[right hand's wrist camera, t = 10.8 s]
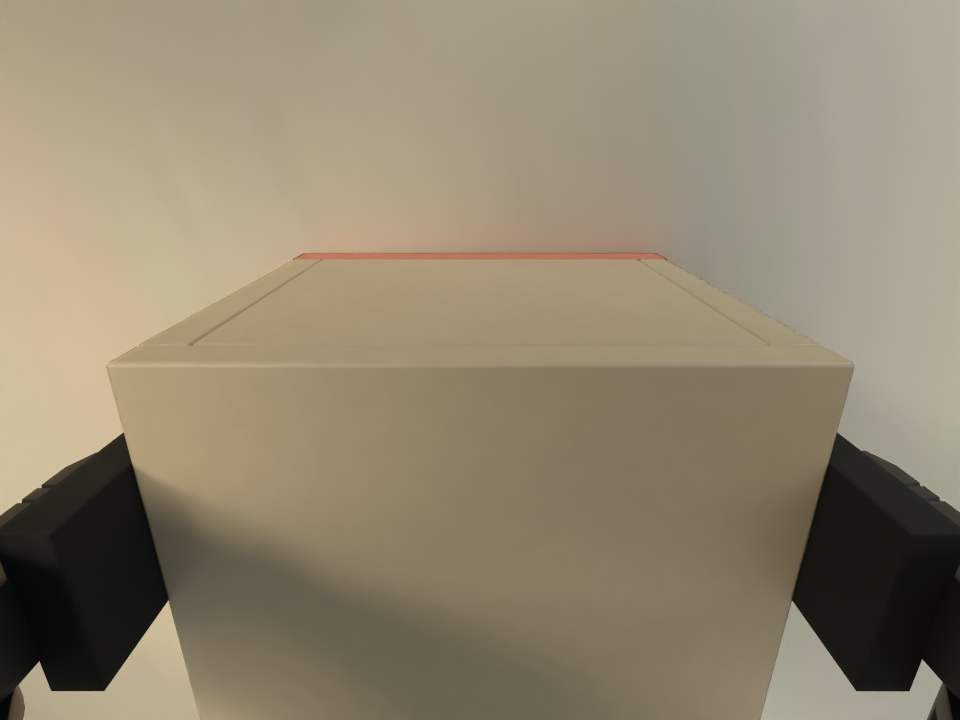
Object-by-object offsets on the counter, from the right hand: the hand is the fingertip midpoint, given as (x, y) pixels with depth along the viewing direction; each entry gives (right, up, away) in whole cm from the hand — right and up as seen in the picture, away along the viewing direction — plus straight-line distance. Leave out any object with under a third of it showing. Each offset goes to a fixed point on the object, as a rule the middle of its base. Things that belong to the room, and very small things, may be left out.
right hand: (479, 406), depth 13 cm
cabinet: (0, -4, +6) cm, 8 cm away
